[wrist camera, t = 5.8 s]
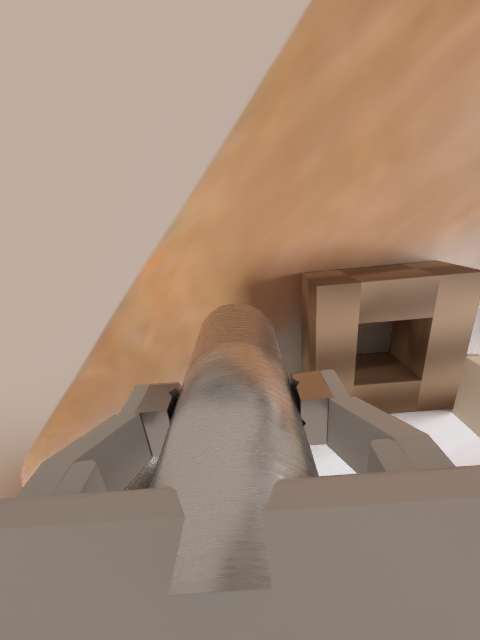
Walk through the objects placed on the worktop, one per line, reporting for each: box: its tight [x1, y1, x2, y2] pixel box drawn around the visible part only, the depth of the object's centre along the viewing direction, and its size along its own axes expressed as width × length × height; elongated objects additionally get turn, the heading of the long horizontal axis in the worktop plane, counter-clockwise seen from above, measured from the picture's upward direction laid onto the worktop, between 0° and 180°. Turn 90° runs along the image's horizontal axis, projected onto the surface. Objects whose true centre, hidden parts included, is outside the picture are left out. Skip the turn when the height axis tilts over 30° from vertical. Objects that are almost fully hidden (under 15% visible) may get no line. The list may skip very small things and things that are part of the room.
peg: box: [149, 304, 319, 595], centre depth 9 cm, size 4×4×11 cm
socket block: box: [301, 261, 480, 414], centre depth 24 cm, size 12×12×5 cm
